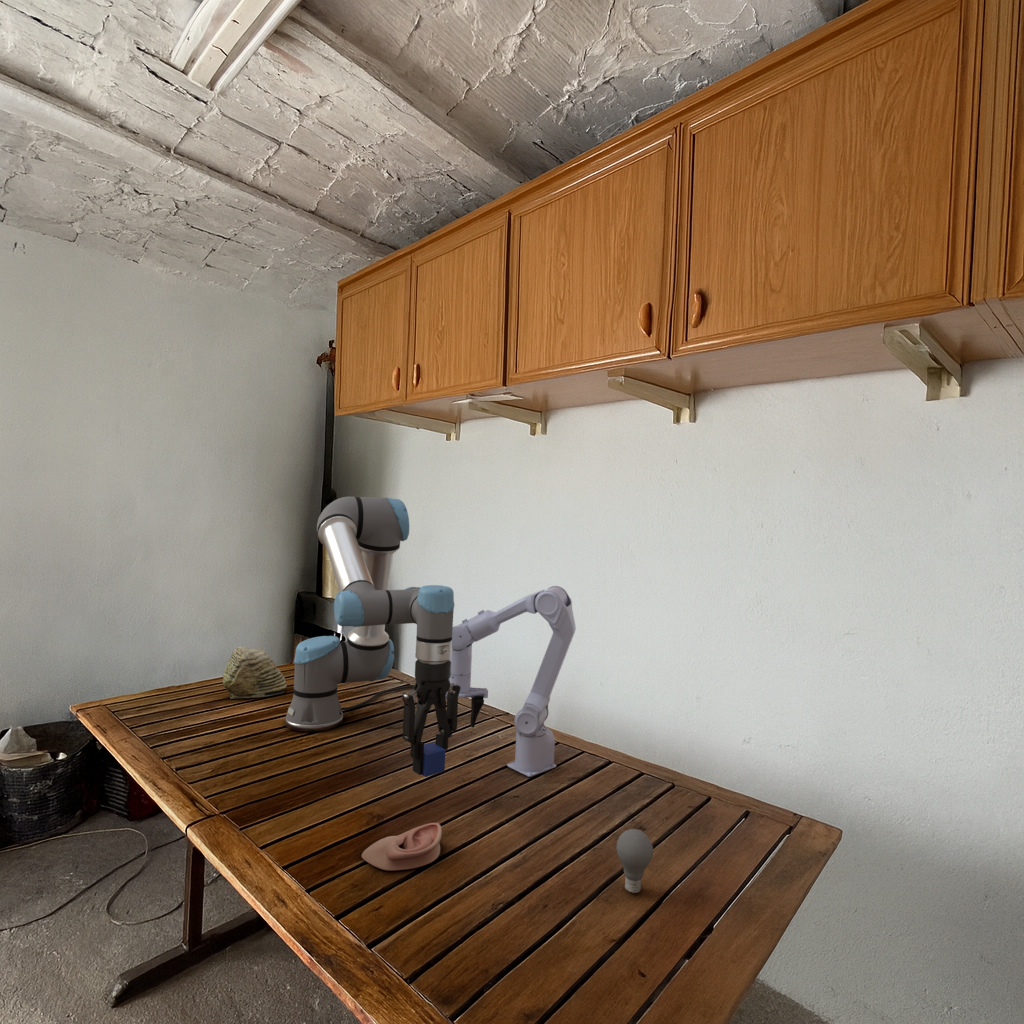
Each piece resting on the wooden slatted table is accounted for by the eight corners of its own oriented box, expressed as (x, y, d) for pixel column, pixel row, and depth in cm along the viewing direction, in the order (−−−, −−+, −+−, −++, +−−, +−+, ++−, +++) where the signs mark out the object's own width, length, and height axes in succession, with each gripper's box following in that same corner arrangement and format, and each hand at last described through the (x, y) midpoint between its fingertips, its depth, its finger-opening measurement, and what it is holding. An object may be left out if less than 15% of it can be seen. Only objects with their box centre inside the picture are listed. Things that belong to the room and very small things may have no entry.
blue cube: (425, 777, 131) (426, 754, 130) (412, 768, 134) (413, 746, 134) (444, 771, 134) (445, 749, 134) (431, 763, 138) (432, 741, 137)
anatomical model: (354, 842, 109) (381, 811, 120) (353, 865, 109) (380, 831, 121) (427, 854, 107) (448, 821, 118) (426, 877, 107) (447, 842, 118)
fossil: (218, 695, 195) (220, 647, 195) (278, 685, 208) (279, 640, 207) (228, 703, 189) (230, 653, 188) (289, 692, 201) (290, 645, 201)
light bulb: (610, 879, 108) (613, 822, 108) (644, 879, 109) (647, 822, 109) (619, 902, 102) (622, 840, 102) (655, 901, 103) (658, 840, 103)
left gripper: (406, 670, 125) (401, 787, 125) (477, 658, 137) (473, 764, 137) (387, 661, 130) (382, 773, 131) (457, 650, 142) (452, 753, 143)
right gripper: (432, 677, 152) (429, 733, 152) (491, 676, 156) (488, 731, 156) (429, 669, 159) (426, 723, 159) (485, 668, 162) (483, 721, 163)
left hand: (428, 768), depth 134 cm, fingers closed on blue cube, 5 cm apart
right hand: (457, 726), depth 158 cm, fingers open, 7 cm apart
